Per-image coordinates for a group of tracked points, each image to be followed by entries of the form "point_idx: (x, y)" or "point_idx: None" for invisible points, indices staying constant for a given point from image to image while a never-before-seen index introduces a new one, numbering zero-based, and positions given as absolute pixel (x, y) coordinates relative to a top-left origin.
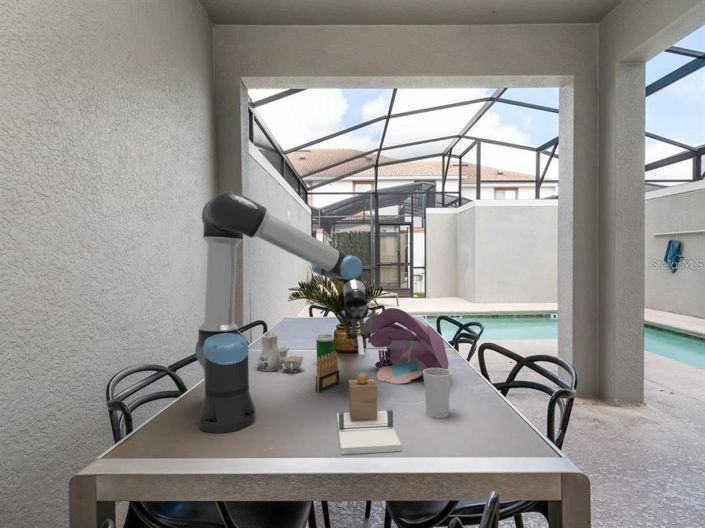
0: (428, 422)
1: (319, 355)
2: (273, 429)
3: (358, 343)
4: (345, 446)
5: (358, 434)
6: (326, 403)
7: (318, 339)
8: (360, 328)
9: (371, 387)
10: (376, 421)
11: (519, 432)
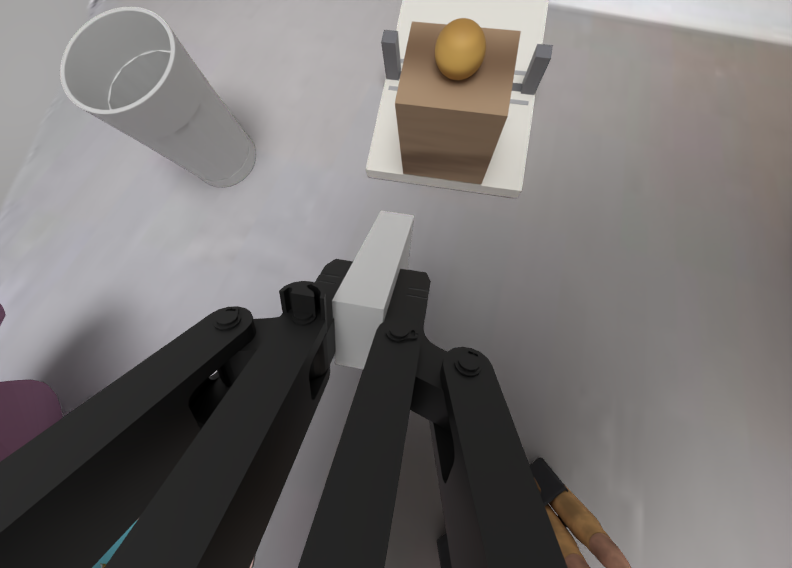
0: (278, 113)
1: None
2: (720, 175)
3: (397, 261)
4: (536, 1)
5: None
6: (530, 330)
7: None
8: (277, 461)
9: (433, 27)
10: None
11: None
